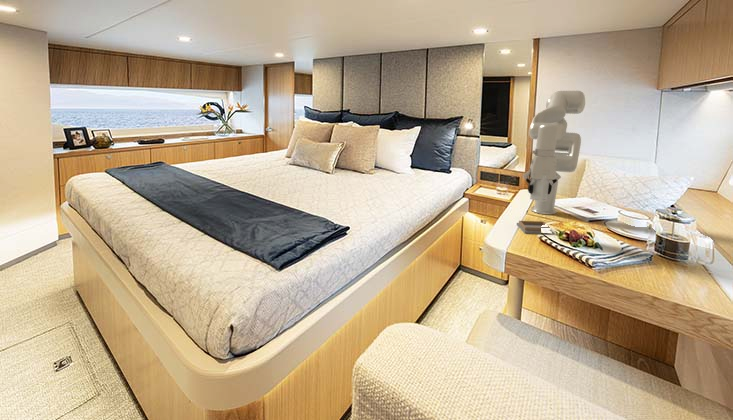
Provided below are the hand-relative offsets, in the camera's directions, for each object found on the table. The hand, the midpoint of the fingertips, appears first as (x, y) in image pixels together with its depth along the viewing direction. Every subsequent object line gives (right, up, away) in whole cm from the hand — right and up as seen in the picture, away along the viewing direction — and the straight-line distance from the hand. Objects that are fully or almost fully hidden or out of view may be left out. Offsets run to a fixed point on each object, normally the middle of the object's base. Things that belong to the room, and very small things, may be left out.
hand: (539, 193), depth 162 cm
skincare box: (0, -3, +1) cm, 4 cm away
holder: (0, -17, +5) cm, 17 cm away
